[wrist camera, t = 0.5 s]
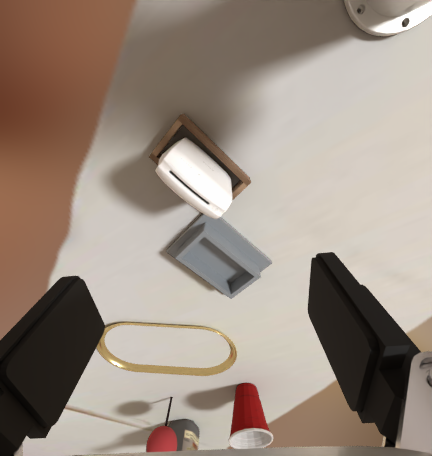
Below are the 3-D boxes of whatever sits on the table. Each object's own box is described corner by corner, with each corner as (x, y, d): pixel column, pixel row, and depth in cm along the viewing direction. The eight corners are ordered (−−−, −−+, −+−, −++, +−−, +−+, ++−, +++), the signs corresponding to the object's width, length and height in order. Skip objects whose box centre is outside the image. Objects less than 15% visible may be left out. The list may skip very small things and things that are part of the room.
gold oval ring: (233, 371, 63) (234, 378, 62) (106, 364, 64) (103, 369, 62) (239, 324, 54) (239, 330, 53) (91, 316, 55) (88, 322, 54)
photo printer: (235, 177, 37) (238, 207, 26) (217, 196, 39) (213, 231, 28) (185, 131, 34) (165, 144, 23) (168, 153, 36) (142, 175, 25)
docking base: (209, 207, 40) (207, 217, 36) (270, 260, 45) (274, 273, 41) (167, 249, 44) (162, 261, 41) (227, 293, 49) (227, 307, 46)
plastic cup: (263, 400, 68) (269, 454, 58) (226, 397, 68) (226, 450, 58) (269, 379, 63) (278, 434, 53) (230, 375, 63) (230, 430, 53)
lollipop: (177, 388, 67) (165, 458, 54) (187, 402, 71) (178, 470, 57) (153, 392, 69) (136, 461, 56) (165, 405, 72) (151, 473, 59)
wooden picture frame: (183, 113, 33) (180, 114, 31) (249, 177, 37) (251, 182, 35) (153, 153, 36) (148, 156, 34) (217, 209, 40) (216, 215, 38)
